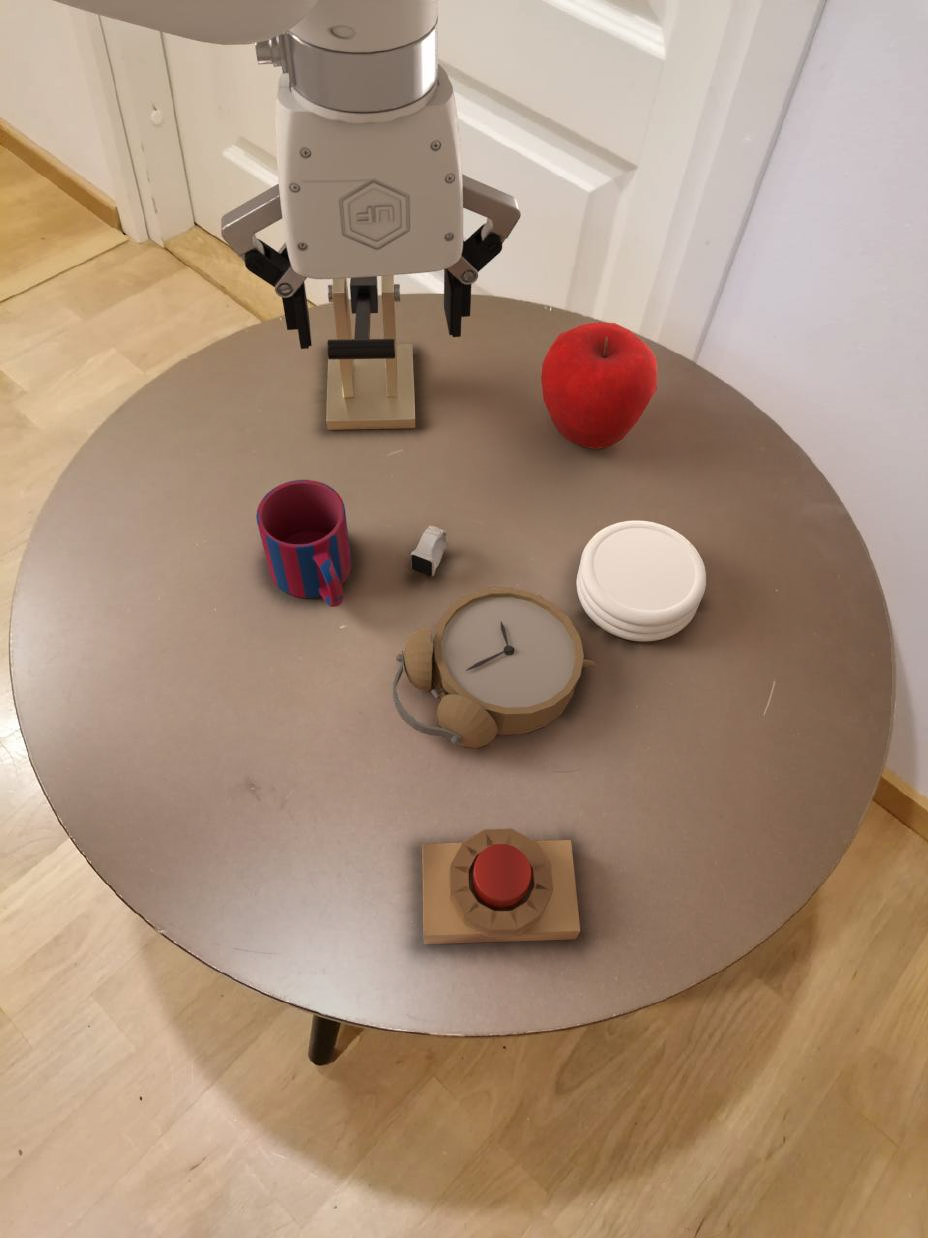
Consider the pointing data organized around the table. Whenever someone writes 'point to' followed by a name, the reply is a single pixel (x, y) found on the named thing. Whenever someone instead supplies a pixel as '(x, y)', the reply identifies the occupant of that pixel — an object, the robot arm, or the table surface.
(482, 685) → the alarm clock
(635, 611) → the coaster
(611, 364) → the apple
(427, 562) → the smartwatch
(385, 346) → the lever
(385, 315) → the bracket
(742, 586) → the table surface
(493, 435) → the table surface
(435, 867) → the button block
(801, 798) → the table surface
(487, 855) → the button
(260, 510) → the mug
